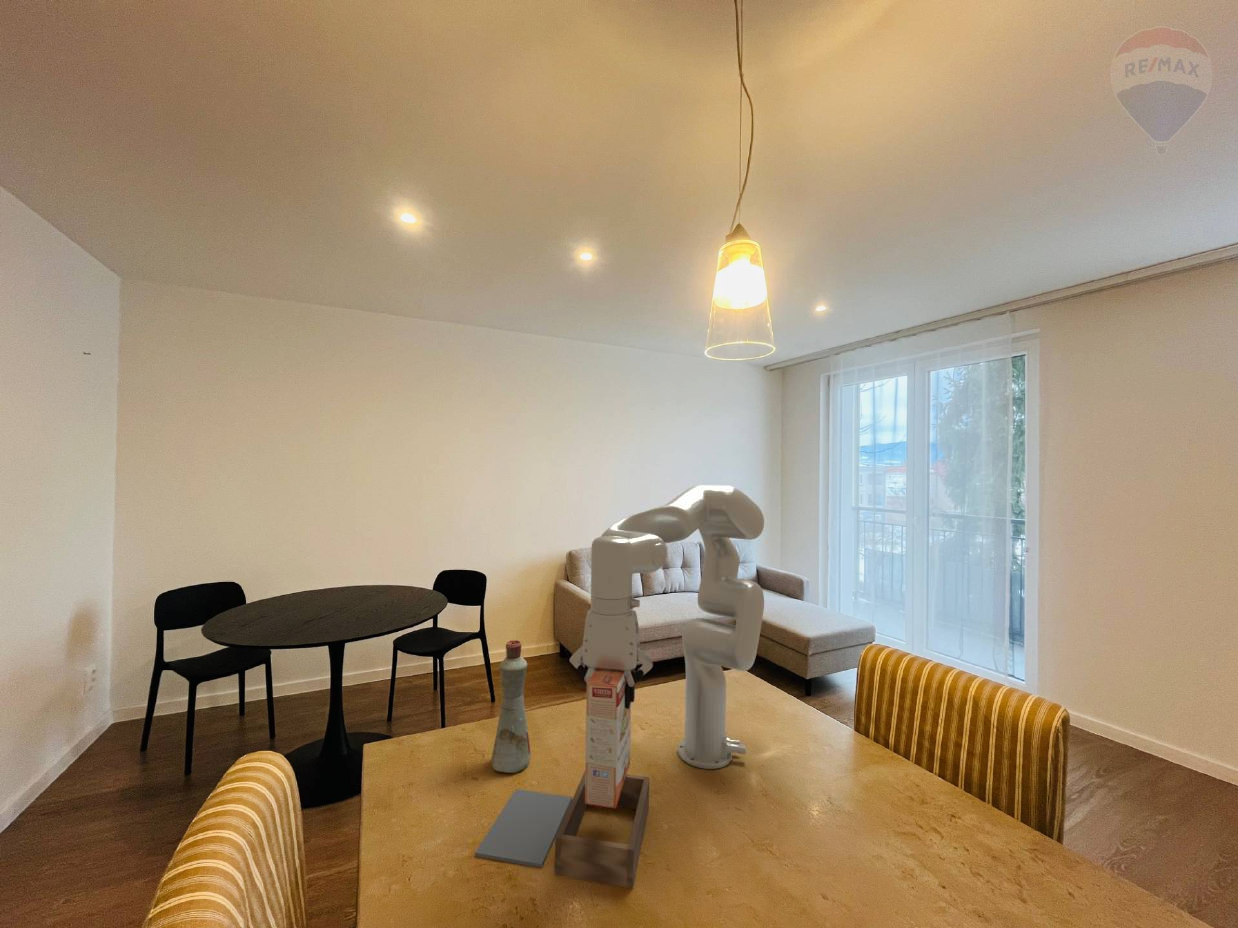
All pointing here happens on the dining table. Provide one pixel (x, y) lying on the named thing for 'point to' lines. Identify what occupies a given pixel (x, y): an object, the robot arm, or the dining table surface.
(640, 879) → the dining table surface
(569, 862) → the walnut crate
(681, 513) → the robot arm
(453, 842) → the dining table surface
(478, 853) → the slate mat
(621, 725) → the cracker box
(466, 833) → the dining table surface
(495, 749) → the bottle
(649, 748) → the dining table surface
